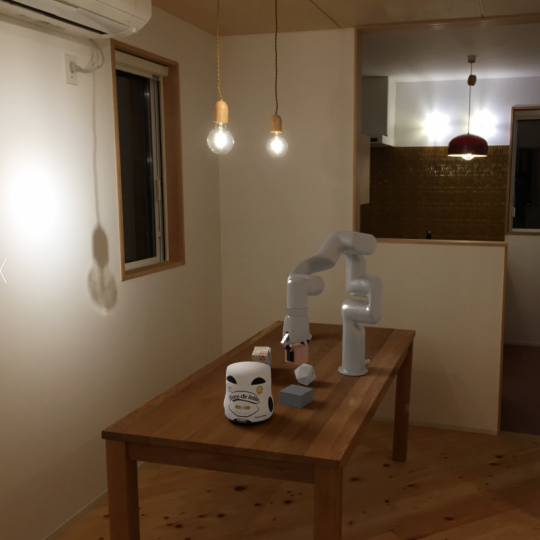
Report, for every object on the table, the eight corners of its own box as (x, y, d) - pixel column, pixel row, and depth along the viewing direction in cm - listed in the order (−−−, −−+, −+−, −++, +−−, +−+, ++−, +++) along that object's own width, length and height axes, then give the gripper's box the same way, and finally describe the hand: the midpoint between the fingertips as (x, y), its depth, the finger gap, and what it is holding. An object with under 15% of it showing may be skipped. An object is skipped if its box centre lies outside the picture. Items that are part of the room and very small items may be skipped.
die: (295, 388, 251) (310, 371, 248) (286, 373, 257) (300, 356, 254) (309, 391, 256) (323, 375, 253) (300, 376, 262) (314, 360, 259)
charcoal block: (292, 396, 241) (292, 384, 240) (312, 401, 236) (312, 388, 235) (279, 404, 233) (279, 391, 233) (300, 409, 229) (300, 395, 228)
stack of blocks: (257, 367, 276) (257, 340, 274) (271, 368, 276) (271, 340, 274) (251, 384, 255) (251, 354, 253) (267, 384, 255) (266, 354, 253)
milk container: (233, 431, 208) (233, 378, 205) (216, 413, 224) (216, 363, 221) (281, 423, 215) (282, 372, 212) (262, 406, 231) (262, 358, 228)
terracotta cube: (296, 358, 236) (296, 342, 235) (308, 361, 232) (308, 345, 231) (285, 361, 232) (285, 345, 231) (296, 364, 228) (297, 348, 227)
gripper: (305, 306, 238) (304, 353, 241) (272, 313, 226) (272, 362, 229) (320, 309, 233) (319, 357, 235) (287, 316, 221) (287, 366, 223)
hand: (296, 359), depth 232 cm, fingers closed on terracotta cube, 6 cm apart
